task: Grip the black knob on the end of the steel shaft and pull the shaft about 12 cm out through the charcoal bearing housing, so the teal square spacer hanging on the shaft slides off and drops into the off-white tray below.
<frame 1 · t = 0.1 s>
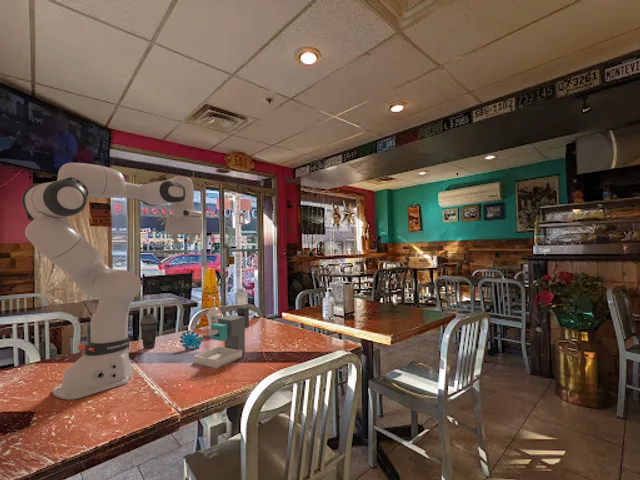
hand: (183, 244, 140), 48 cm above the table, tool pointing down, fingers open, 8 cm apart
beverage cup: (149, 348, 146), on the table
housing: (231, 354, 136), on the table
tray: (218, 360, 129), on the table
teal virus model: (191, 348, 145), on the table
spacer: (219, 339, 130), point 8 cm above the table, touching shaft
cup with straw: (214, 333, 170), on the table
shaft: (228, 321, 135), point 14 cm above the table, slide at 0.0 cm, touching spacer
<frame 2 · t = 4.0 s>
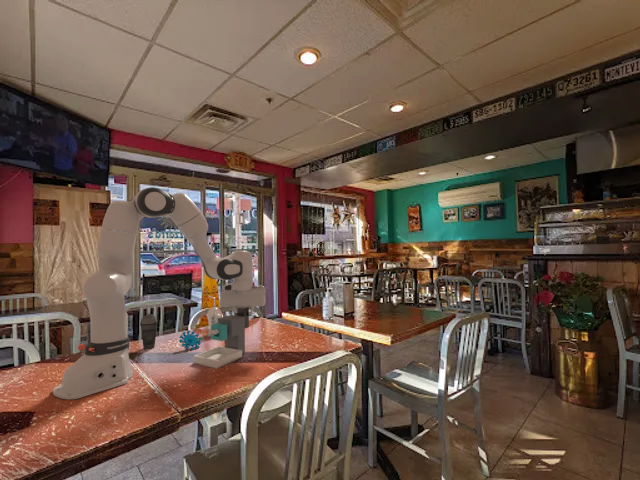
hand: (243, 316, 143), 15 cm above the table, tool pointing down, fingers closed on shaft, 5 cm apart
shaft: (228, 321, 135), point 14 cm above the table, slide at 0.0 cm, touching gripper, spacer
everything else where it was.
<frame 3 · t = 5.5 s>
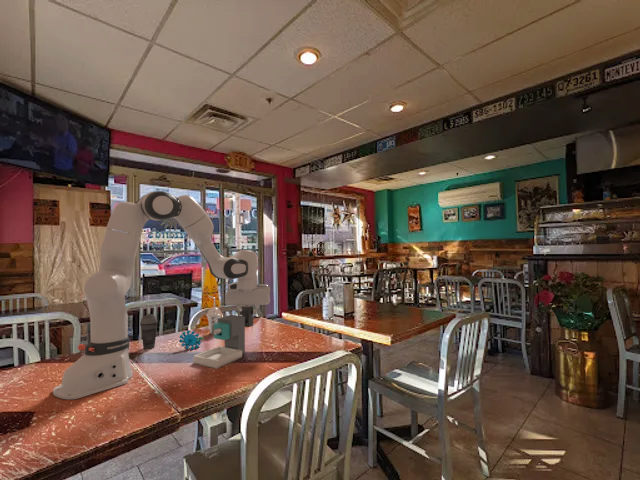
hand: (247, 314, 146), 15 cm above the table, tool pointing down, fingers open, 5 cm apart
spacer: (221, 338, 131), point 8 cm above the table, touching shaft
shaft: (233, 320, 137), point 14 cm above the table, slide at 3.0 cm, touching gripper, spacer
everything else where it was.
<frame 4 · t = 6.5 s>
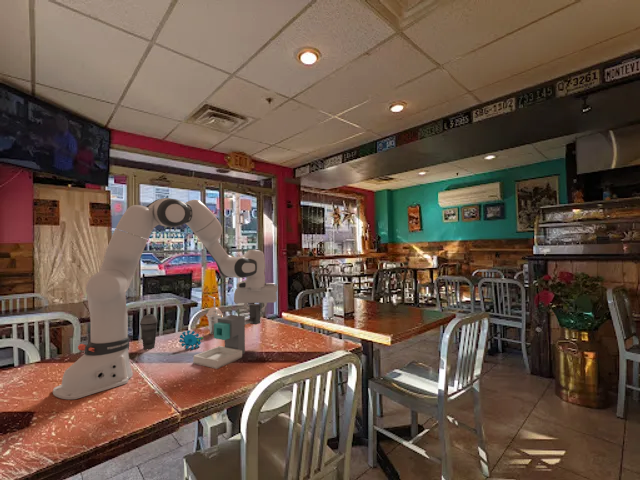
hand: (255, 312, 151), 15 cm above the table, tool pointing down, fingers open, 6 cm apart
spacer: (221, 338, 131), point 9 cm above the table, touching housing
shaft: (241, 317, 142), point 14 cm above the table, slide at 8.1 cm, touching gripper
everything else where it was.
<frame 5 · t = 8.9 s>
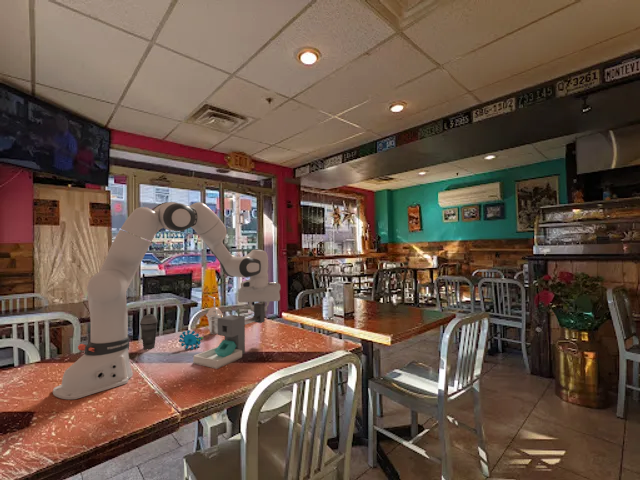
hand: (259, 310, 154), 15 cm above the table, tool pointing down, fingers closed on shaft, 5 cm apart
spacer: (221, 354, 131), point 2 cm above the table, tilted 54°, touching housing, tray
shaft: (246, 316, 145), point 14 cm above the table, slide at 11.5 cm, touching gripper
everything else where it was.
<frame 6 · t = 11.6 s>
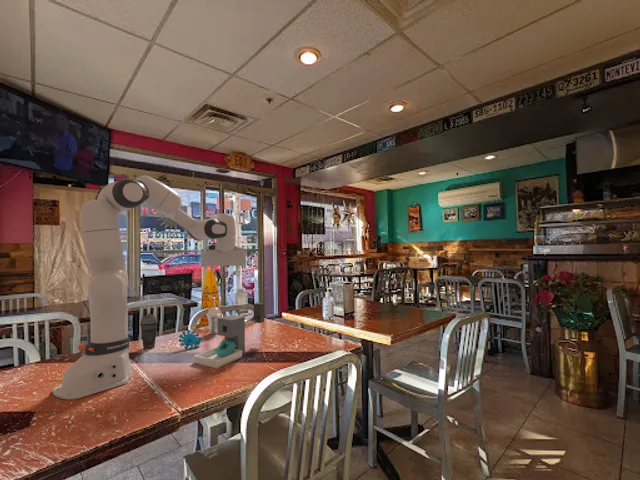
hand: (224, 275, 154), 33 cm above the table, tool pointing down, fingers open, 8 cm apart
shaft: (246, 316, 145), point 14 cm above the table, slide at 11.2 cm
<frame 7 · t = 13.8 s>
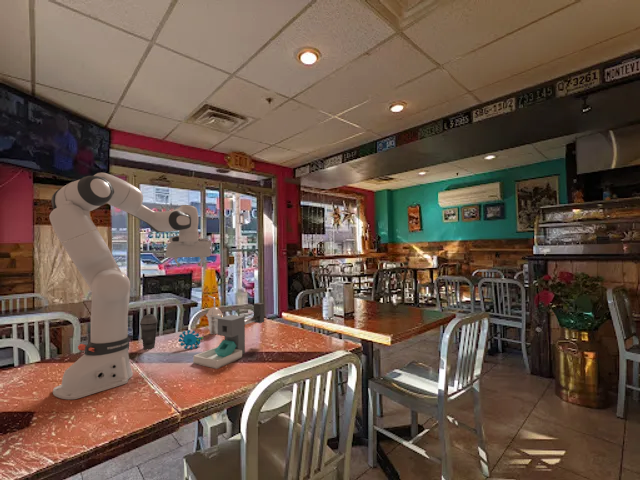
hand: (189, 266, 154), 37 cm above the table, tool pointing down, fingers open, 8 cm apart
at the end: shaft slide at 11.2 cm; spacer inside the target area (1.7 cm from its centre), point 1.8 cm above the table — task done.
